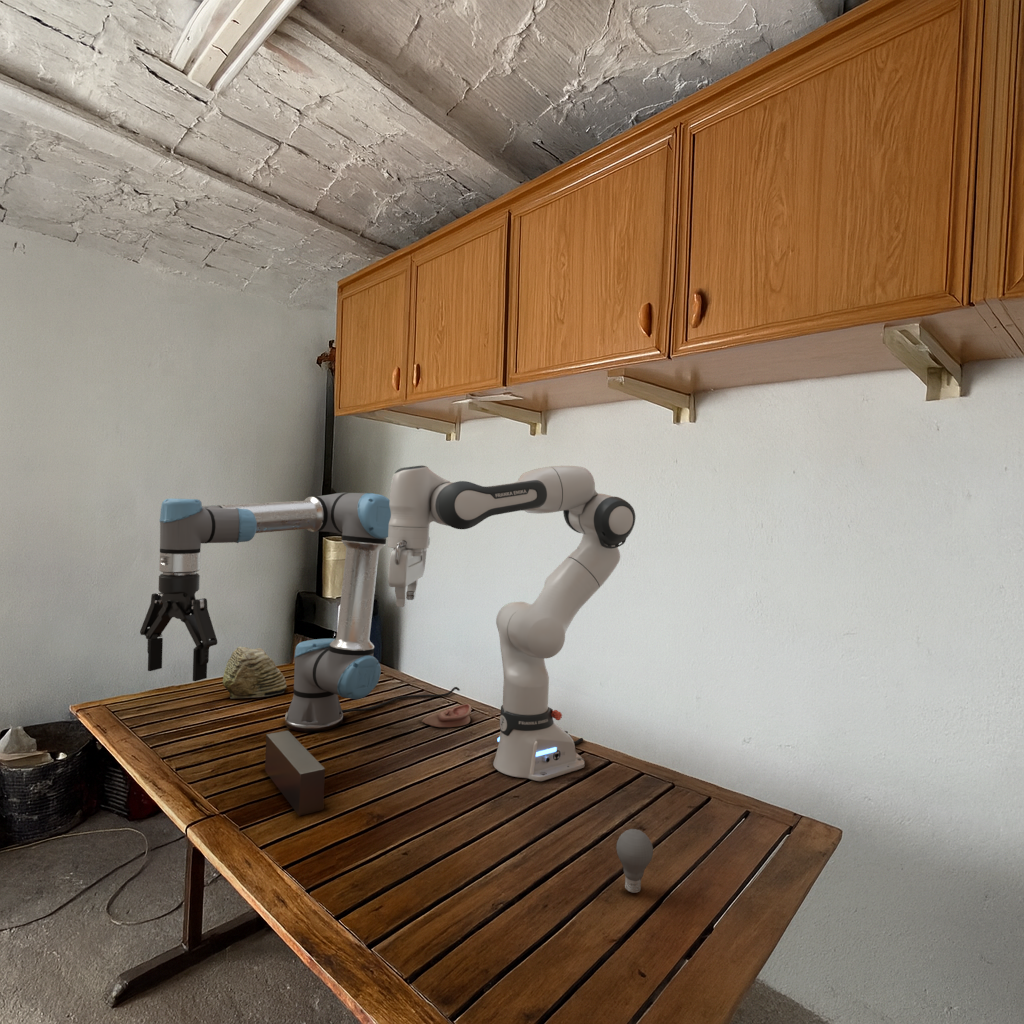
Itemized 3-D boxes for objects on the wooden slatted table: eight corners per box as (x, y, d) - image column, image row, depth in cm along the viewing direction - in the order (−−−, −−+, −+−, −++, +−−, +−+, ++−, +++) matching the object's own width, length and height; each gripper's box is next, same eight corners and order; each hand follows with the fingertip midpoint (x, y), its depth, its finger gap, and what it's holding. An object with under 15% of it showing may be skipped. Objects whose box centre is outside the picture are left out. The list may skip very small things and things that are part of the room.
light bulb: (610, 879, 108) (613, 822, 108) (644, 879, 109) (647, 822, 109) (619, 902, 102) (622, 840, 102) (655, 901, 103) (658, 840, 103)
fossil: (218, 695, 195) (220, 647, 195) (278, 685, 208) (279, 640, 207) (228, 703, 189) (230, 653, 188) (289, 692, 201) (290, 645, 201)
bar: (264, 770, 145) (266, 734, 145) (286, 766, 148) (288, 730, 148) (298, 816, 125) (300, 774, 125) (323, 809, 128) (325, 768, 128)
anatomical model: (418, 710, 178) (431, 698, 189) (418, 724, 178) (431, 711, 189) (464, 716, 175) (474, 703, 186) (463, 730, 175) (474, 716, 186)
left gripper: (122, 569, 133) (120, 669, 134) (206, 580, 123) (203, 688, 123) (155, 566, 140) (153, 661, 141) (237, 576, 130) (234, 679, 130)
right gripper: (412, 543, 128) (410, 611, 128) (431, 537, 148) (428, 596, 148) (382, 541, 128) (379, 610, 128) (404, 536, 148) (402, 595, 149)
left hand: (176, 674), depth 132 cm, fingers open, 13 cm apart
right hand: (406, 602), depth 138 cm, fingers open, 8 cm apart
